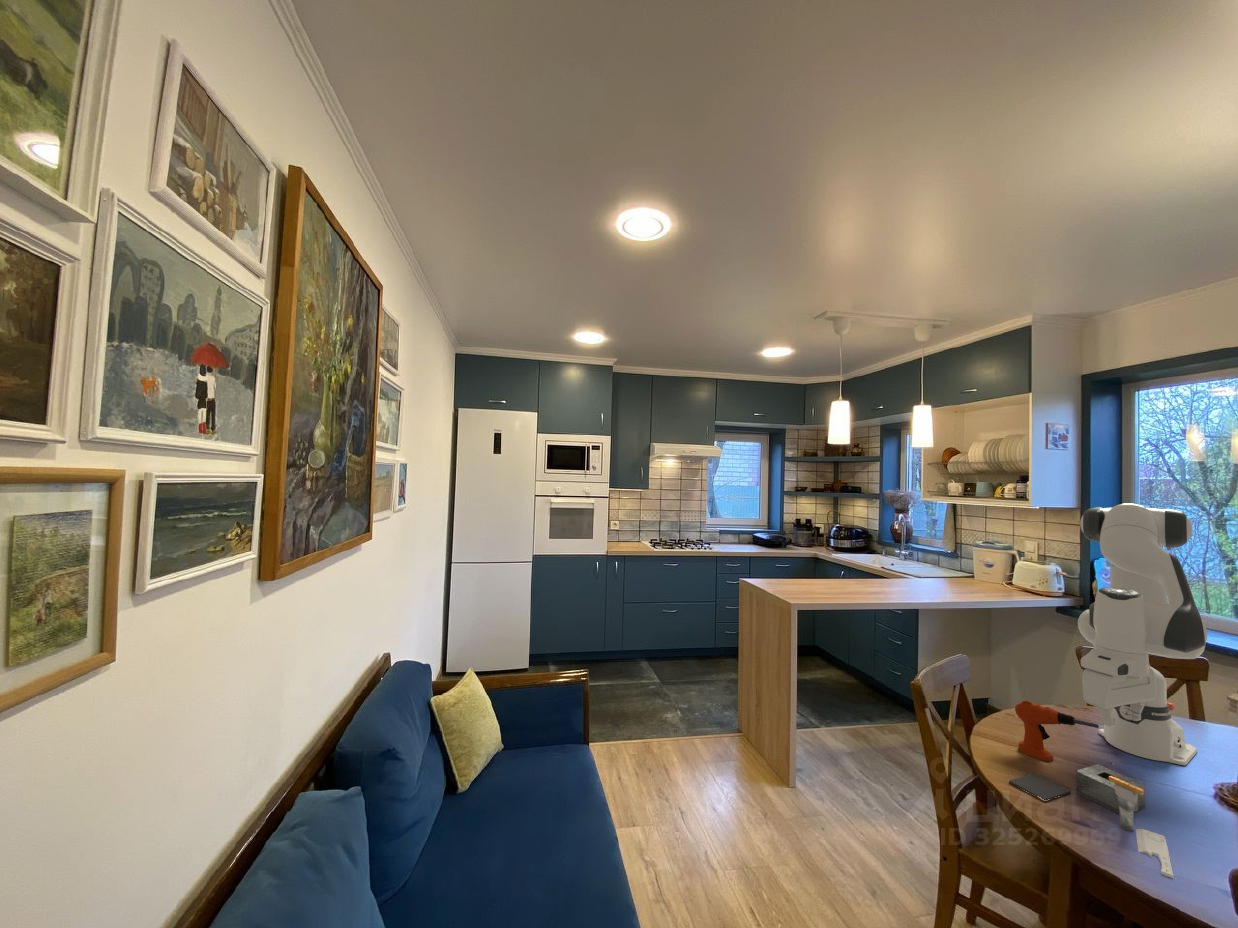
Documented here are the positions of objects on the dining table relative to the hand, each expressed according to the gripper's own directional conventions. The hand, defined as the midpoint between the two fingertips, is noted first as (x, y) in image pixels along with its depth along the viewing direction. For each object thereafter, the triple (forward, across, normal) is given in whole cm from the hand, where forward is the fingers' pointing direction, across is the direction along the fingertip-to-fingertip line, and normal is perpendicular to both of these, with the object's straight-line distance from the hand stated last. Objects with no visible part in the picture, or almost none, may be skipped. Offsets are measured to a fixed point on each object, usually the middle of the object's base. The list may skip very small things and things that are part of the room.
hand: (1121, 722), depth 113 cm
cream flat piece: (+24, +4, +6) cm, 25 cm away
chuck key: (+23, 0, 0) cm, 23 cm away
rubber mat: (+23, +2, -15) cm, 28 cm away
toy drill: (+23, -15, -22) cm, 35 cm away
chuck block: (+23, -9, -7) cm, 25 cm away
